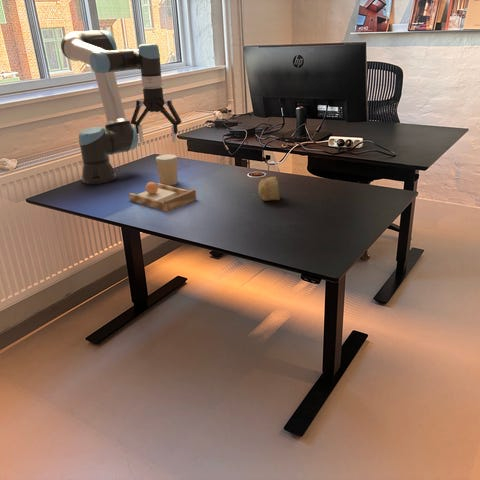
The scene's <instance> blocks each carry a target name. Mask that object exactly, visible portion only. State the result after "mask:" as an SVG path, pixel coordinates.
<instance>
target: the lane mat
mask: <svg viewBox="0 0 480 480" xmlns="http://www.w3.org/2000/svg"><path fill="white" fill-rule="evenodd" d="M136 195H140V196H143V197H147V198H151V199H154V200H158V201H161V202H164V201H165V200H167V199H170V198H172V197H175V196H177V192H174V191H170V190H166V189H162V188H159V187H158V191H157V192H156V193H155V194H149V193H148V192H147V191H146V190H145V191H142V192H140V193H137V194H136Z"/></svg>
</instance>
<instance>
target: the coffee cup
mask: <svg viewBox="0 0 480 480" xmlns="http://www.w3.org/2000/svg"><path fill="white" fill-rule="evenodd" d="M155 161H156V167H157V173H158V179H159V183H160V184H164V185H168V186H175V185H176V184H178V157H177V155H176V154H172V153H171V154H170V153H166V154H161V155H158V156H156V157H155Z"/></svg>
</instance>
